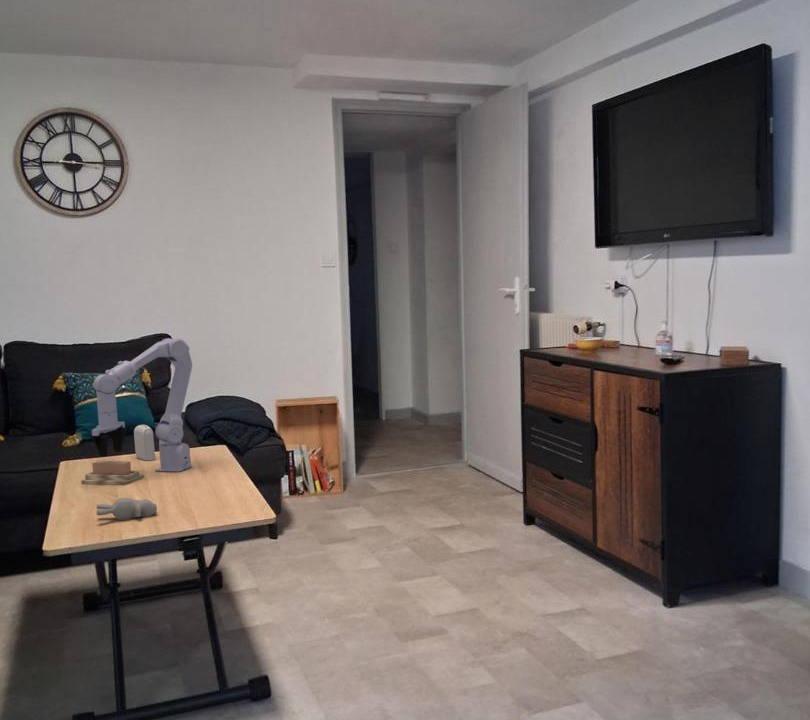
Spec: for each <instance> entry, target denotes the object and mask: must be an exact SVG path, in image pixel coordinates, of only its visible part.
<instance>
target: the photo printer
mask: <svg viewBox="0 0 810 720" xmlns="http://www.w3.org/2000/svg"><path fill="white" fill-rule="evenodd" d="M133 436H134V437H133V438H134V440H133V441H134V451H135V457H136V458H137V459H139V460H143V461H154V460H155V459H156V452H155V441H154V438H155V437H154V431H153V429H152V428H151V427H150V426H149V425H147V424H139V425H137V426H136V427H135V428H134V429H133Z"/></svg>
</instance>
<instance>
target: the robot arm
mask: <svg viewBox="0 0 810 720" xmlns="http://www.w3.org/2000/svg"><path fill="white" fill-rule="evenodd" d="M157 358H166V360H167V359H168V360H169V362H170V363H171V364H172V365H173V366H174V372H173V376H172V382H171V386H170V389H169V395H168V399H167V403H166V407H165V412H164V414H163V415H162V417H160V421H159V422H158V424H157V426H156V428H155V431H154V432H155V436H156V438H157V439H158V440H159V441H158V448H159V461H160V462H159V463H160V467H159V468H156V469H155V472H182V471H185V470H187V469H189V468H191V467H193V465H192V463H191V462H192V461H191V450H190V449H191V448H190V446H189V444H188V443H185V442H182V440H183V437H184V428H183V427H184V420H183V419H182V413H183V408H184V405H185V401H186V396H187V391H188V388H189V383H190V378H191V374H192V373H191V372H192V369H193V362H192V358H191V353H190V347H189V345H188V344H187V343H186V341H184V340H183V339H181V338H170V337H166V338H163V339H161V341H157V342H156V343H155V344H153V345H152V346H150V347H149V348H148V349H146V350H144V351H143V352H141V354H139V355H138V356H136V357H134V358H133V359H132V360H131V361H129V360H124V361H122V360H120V361H118V362H117V365H115V366H113V368H110V369H106V370H104V371H105V372H104V373H105V374H104V373H102V374H99V375H97V376H95V378H94V380H93V383H92V387H93V389H94V390H95V391H96V404H97V405H96V406H97V417H98V425H96V427H95V428H93V429H91V435H90V439H91V440H92V441H93V443H94V445H95V446H96V450H97V452H98V454H99V457H101V458H102V457H103V458H104V457H108V445H109V444H108V443H109V438H111V440H112V441H111V442H112V446H113V450H114V452H122V449H123V442H124V439H125V437H126V434H127V431H128V429H127V428H126V425H125V423H126V422H125V421H118V408H117V397H116V390H117V389H118V386H121V385H122V384H124V383H125V382H126V381H128V380H130V379H131V378H133V377H134V376H136V372H137V370H138V369H140V368H142V367H144V366H145V365H147V364H148V363H150V362H152V361H154V360H156V359H157ZM106 433H109V434H106Z"/></svg>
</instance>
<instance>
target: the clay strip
mask: <svg viewBox="0 0 810 720" xmlns="http://www.w3.org/2000/svg"><path fill="white" fill-rule="evenodd" d="M91 464H92V472H93V474H94V475H129V474H131V471H132V465H131V461H128V460H127V461H122V460H121V461H120V460H119V461H118V460H114V461H113V460H110V461H109V460H97V461H94V462H92V463H91Z"/></svg>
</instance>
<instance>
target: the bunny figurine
mask: <svg viewBox="0 0 810 720" xmlns="http://www.w3.org/2000/svg"><path fill="white" fill-rule="evenodd" d="M157 510H158V505H157V504H156V503H153V502H152V501H151V500H149V499H147V498H145V499H141V500H139V499H134V498H132V497H121V498H118V499H117V500H116V501H114V502H113V503H112V504H104V503H100V504H96V515H97V516H105V515H110V514H111V515H112V516H114V517H115V518H116V519H117V520H118V521H122V520H123V521H124V520H125V521H127V520H131V519H135V518H140V517H142V518H149V517H151V516H152V515H154V514H156V513H157V512H158V511H157Z"/></svg>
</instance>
